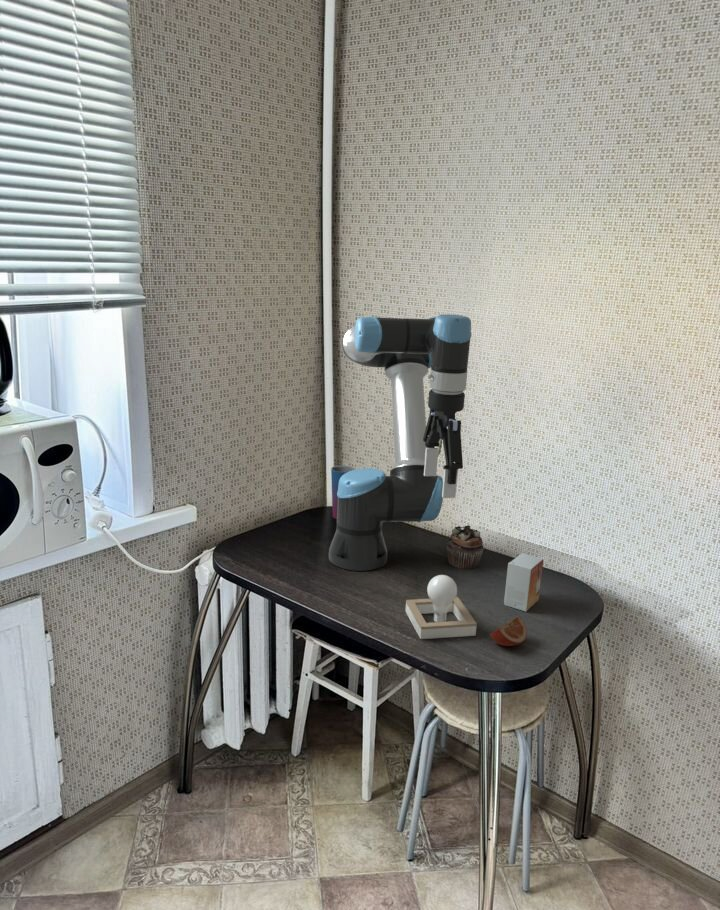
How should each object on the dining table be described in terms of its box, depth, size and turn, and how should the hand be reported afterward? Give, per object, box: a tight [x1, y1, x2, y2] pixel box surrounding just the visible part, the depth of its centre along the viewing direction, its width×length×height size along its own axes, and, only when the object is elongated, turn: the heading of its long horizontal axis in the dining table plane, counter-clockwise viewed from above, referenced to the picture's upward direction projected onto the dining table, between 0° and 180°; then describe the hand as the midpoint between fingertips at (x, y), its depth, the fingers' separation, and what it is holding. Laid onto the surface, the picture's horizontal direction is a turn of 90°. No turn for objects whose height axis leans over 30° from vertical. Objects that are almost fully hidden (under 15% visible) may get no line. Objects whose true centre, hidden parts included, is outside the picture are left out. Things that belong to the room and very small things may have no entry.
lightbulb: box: [426, 574, 458, 622], centre depth 152 cm, size 6×6×11 cm
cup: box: [330, 465, 355, 520], centre depth 212 cm, size 7×7×15 cm
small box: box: [503, 552, 545, 613], centre depth 163 cm, size 8×6×10 cm
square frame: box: [405, 596, 478, 640], centre depth 153 cm, size 12×12×3 cm
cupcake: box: [445, 524, 484, 570], centre depth 184 cm, size 10×10×10 cm
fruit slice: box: [489, 615, 528, 647], centre depth 146 cm, size 8×7×5 cm
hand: (438, 486), depth 155 cm, fingers open, 13 cm apart
